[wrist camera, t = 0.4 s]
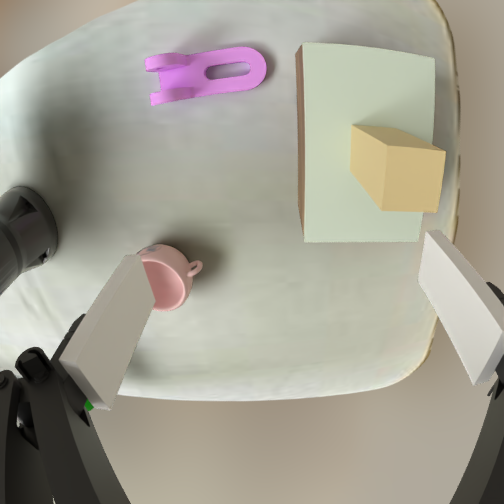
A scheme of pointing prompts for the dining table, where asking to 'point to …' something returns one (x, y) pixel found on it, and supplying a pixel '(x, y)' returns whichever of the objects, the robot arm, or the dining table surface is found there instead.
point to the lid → (368, 143)
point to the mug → (168, 275)
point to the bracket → (203, 73)
